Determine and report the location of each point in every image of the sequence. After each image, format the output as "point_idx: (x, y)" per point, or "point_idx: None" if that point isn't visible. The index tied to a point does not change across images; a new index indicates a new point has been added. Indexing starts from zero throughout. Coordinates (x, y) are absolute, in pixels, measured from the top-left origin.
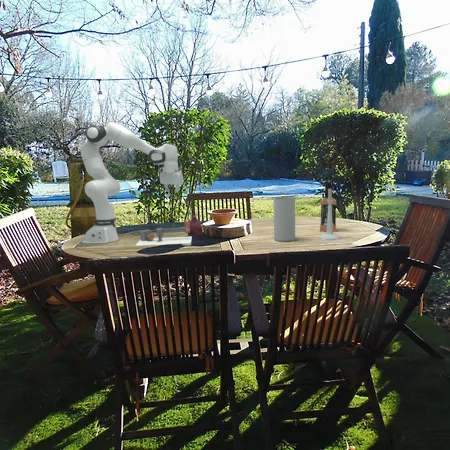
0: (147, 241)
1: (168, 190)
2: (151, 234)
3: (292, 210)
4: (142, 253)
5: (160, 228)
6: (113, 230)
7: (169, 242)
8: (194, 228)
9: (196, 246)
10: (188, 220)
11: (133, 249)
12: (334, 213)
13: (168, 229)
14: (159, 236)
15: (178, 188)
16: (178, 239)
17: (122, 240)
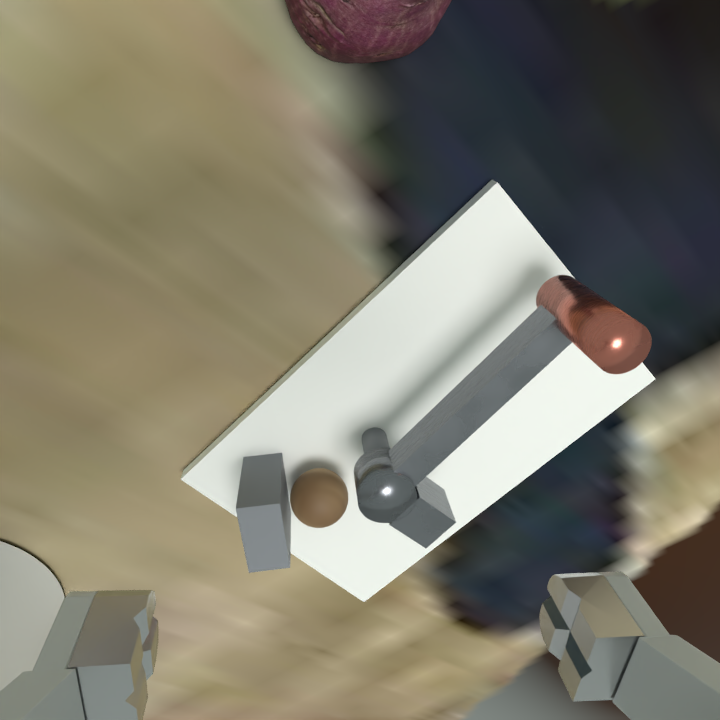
0: None
1: (152, 623)
2: (338, 513)
3: None
4: (516, 629)
5: (397, 496)
6: (5, 652)
7: (496, 445)
8: (432, 29)
9: (707, 377)
10: (646, 349)
11: (394, 615)
12: None
13: (453, 448)
14: None
15: (703, 657)
16: (481, 342)
17: (57, 537)
